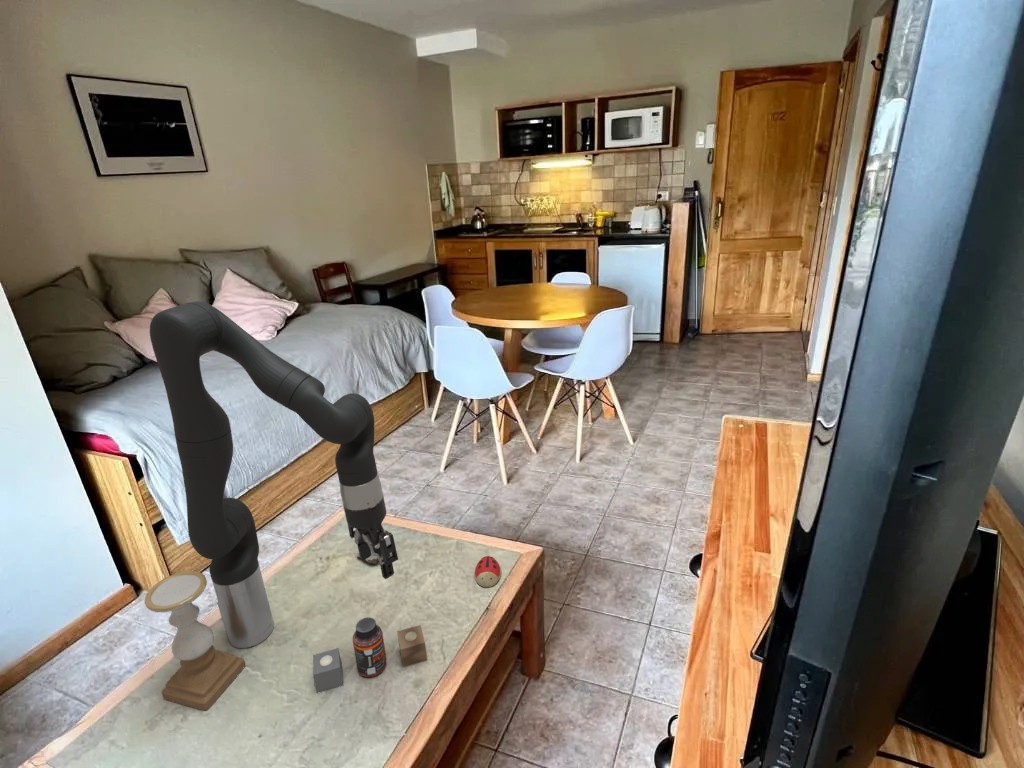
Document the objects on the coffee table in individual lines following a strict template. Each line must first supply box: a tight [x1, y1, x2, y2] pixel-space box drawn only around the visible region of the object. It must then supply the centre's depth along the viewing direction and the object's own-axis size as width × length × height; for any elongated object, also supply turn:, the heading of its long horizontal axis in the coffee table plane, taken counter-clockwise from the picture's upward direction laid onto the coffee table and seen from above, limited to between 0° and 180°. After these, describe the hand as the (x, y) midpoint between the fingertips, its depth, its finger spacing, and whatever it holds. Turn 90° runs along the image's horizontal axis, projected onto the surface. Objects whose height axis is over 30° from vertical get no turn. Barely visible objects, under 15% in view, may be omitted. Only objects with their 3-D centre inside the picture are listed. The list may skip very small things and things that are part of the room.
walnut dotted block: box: [396, 624, 428, 668], centre depth 114 cm, size 5×5×5 cm
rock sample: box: [356, 529, 390, 564], centre depth 145 cm, size 10×8×9 cm
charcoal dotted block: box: [312, 647, 344, 694], centre depth 109 cm, size 5×5×5 cm
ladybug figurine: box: [473, 555, 502, 588], centre depth 137 cm, size 7×10×4 cm
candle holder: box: [144, 570, 246, 711], centre depth 106 cm, size 11×11×24 cm
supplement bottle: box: [352, 616, 387, 678], centre depth 111 cm, size 6×6×11 cm
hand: (377, 566), depth 109 cm, fingers open, 8 cm apart
